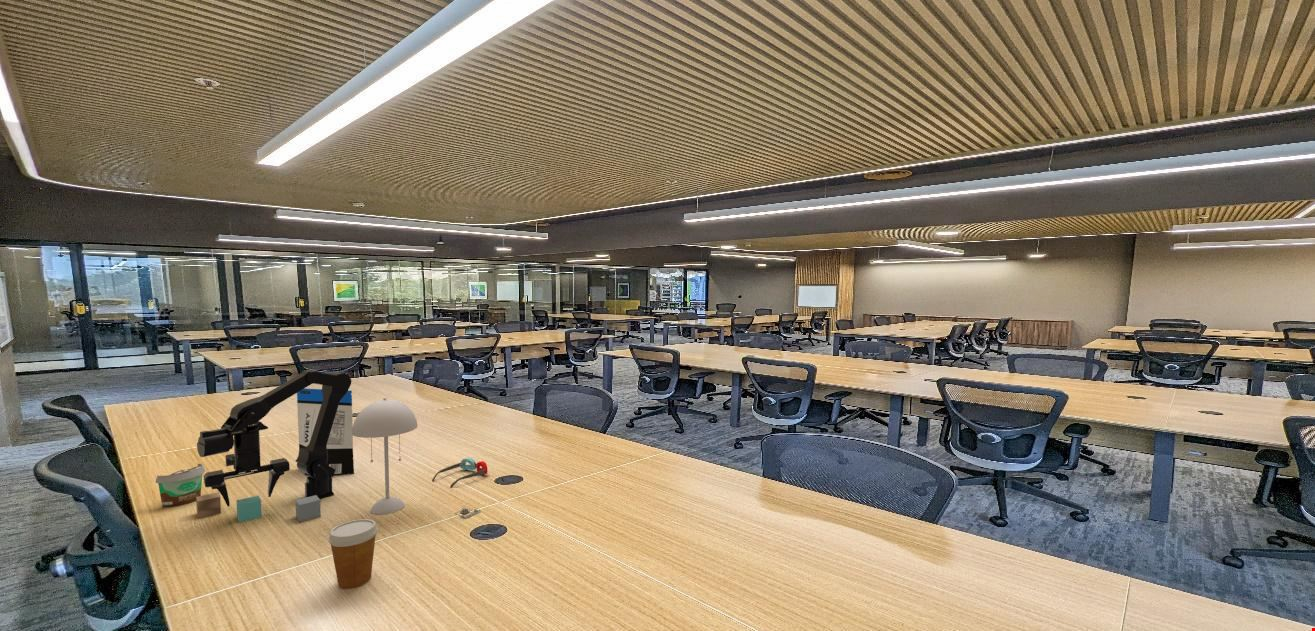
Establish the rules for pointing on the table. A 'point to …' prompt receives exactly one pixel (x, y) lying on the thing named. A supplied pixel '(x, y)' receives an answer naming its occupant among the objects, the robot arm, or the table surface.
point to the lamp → (385, 438)
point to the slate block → (308, 508)
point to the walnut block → (208, 505)
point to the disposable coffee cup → (353, 551)
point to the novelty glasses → (466, 467)
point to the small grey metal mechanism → (467, 512)
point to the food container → (180, 486)
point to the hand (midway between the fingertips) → (249, 501)
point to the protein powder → (340, 432)
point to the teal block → (249, 508)
